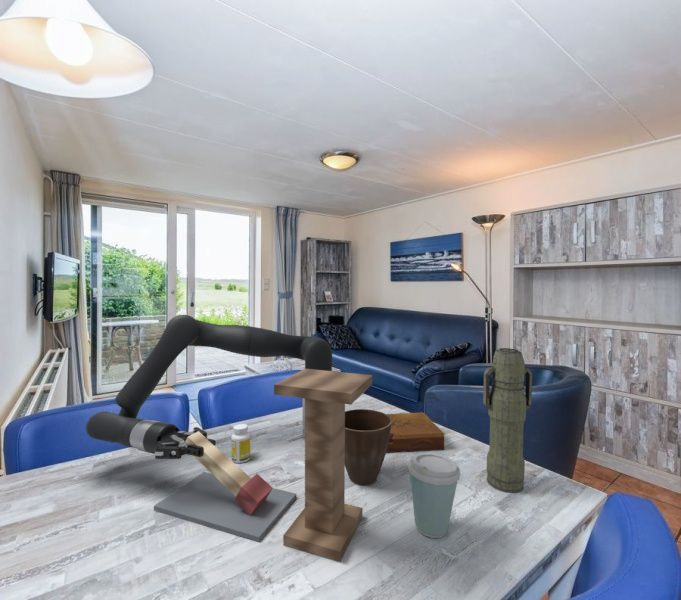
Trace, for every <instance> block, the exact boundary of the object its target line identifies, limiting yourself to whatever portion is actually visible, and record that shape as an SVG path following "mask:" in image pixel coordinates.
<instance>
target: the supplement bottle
mask: <svg viewBox="0 0 681 600" xmlns="http://www.w3.org/2000/svg"><path fill="white" fill-rule="evenodd" d="M248 427H249V426H248V424H246V423H238V424H235V425H234V426H233V433H232V434H231V437H230V443H231V444H230V446H231V447H230V448H231V449H230V450H231V452H230V453H231V461H232V462H233V463H235V464H243V463H246V462H248V461H249V460H250V459H251V433H250V432H249V431H248V430H249V428H248Z"/></svg>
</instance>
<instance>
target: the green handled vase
mask: <svg viewBox="0 0 681 600" xmlns="http://www.w3.org/2000/svg"><path fill="white" fill-rule="evenodd" d="M493 354H494V355H493V356H492V359H491V367H487V368H486V369H485V371H484V372H483V392H482V394H483V395H482V398H483V399H482V404H483V406H485V407H486V408H487V411H488V417H489V444H488V445H489V446H488V447H489V450H488V452H487V454H486V474H487V475H486V476H487V477H486V481H487V483H488V485H489V486H491V487H492V488H493V489H495V490H498V491H500V492H504V493H509V494H510V493H511V494H517V493H520V492H522V491H523V490H524V480H525V469H526V466H525V465H526V463H525V459H524V453H523V452H524V424H525V422H526V420H527V418H526V417H527V411H528V409H531V408H532V402H533V401H532V399H533V398H532V397H533V373H532V371H531V369H530V368H528V367H525V364H526V363H525V359H524V357H523V352H522V351H519V349H515V348H505V347H503V348H502V347H501V348H498V349H495V352H494V353H493ZM491 379H492V383H491V387H490V382H491V381H490V380H491ZM524 383H525V387H524Z"/></svg>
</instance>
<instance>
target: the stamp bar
mask: <svg viewBox="0 0 681 600" xmlns="http://www.w3.org/2000/svg"><path fill="white" fill-rule="evenodd" d="M207 438H208V437H207ZM207 438H206V437H205V436H203V435H202V434H201V433H200V432H199V431H198V432H196V433H194V434H192V435H190V436H188V437H187V439H186V441H185V443H188V444H189V445H196V446H201V447H203V448H204V455H203V456H202V457H197V456H193V455H191V456H192V457H193V458H194V459H195V460H197V461H198V463H200V464H201V465H202V466H203V467H204V468H205V469H206V470H207V471H208V472H209V473H211V474H213V475H214V476H215V477H216V478H217V479H218V480H219V481H220V482H221V483H222V484H224V485H225V486H226V487H227V488H228V489H229V490H230V491H231V492H232V493H233V494H234V495H235V496H236V497H235V499H234V501H235V502H236V503H237V504H238V505H239V506H241V507H242V508H243V509H244V510H245V511H246V512H247V513H248V514H249V515H250V516H251V515H252V514H253V513H254V512H255V511H256V510H257V509H258V508H259V507H260V506H261V505H262V503H263V502H264V501H265V500H266V499H267V497H268V495H269V494H270V492H271V490H272V489H273V488H274V487H273V486H271V485H270V483H268V482H267V481H266V480H265V479H263V478H262V477H261V476H260V475H259V473H256V474H255V475H254V476H253V477H250V476H249V475H248V474H247V473H246V472H245V471H243V469H241V468H240V467H239V466H238V465H237V463H235V462H233V461H232V459H230V458H229V457H228V456H227V455H226V454H225V453H224V452H223V451H222V450H220V449H219V448H218V447H217V445H216V446H215V445H213V444H212V443H211V442H210V441H208V439H209V438H208V439H207Z"/></svg>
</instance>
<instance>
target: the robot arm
mask: <svg viewBox="0 0 681 600" xmlns="http://www.w3.org/2000/svg"><path fill="white" fill-rule="evenodd" d="M187 347H204V348H205V347H208V348H214V349H219V350H222V351H226V352H229V353H233V354H236V355H237V354H238V355H243V356H248V357H249V356H250V357H258V358H272V357H274V358H275V357H288V358H294V359H298V360H301V361H304V363H305V364H304V369H314V370H324V371H333V351H332V350H333V349H332V347H331V344H330V343H329V342H328V341H326V340H325V339H322V337H321V338H320V337H318V336H305V335H293V334H292V335H291V334H286V333H282V332H280V331H275V330H270V329H266V328H262V327H258V326H257V327H256V326H250V325H240V324H238V325H237V324H216V323H211V322H207V321H202V320H199V319H195V317H192V316H191V315H189V314H179V315H176V316H174V317H172V318H170V320H169V321H168V322H167V324H166V326H165V329H164V330H163V332H162V334H161V337H160V338H159V339H158V342H157V343H156V345H155V346H154V348H153V349H152V351H151V352H150V353H149V355H148V357H147V358H146V359H145V360H144V361H143V362H142V363H141V365H140V366H139V367H138V369H137V370H136V371H135V372H134V373H133V374H132V375H131V376H130V378H129V379H128V380H127V382H126V383H125V384H124V385H123V387H122V388H121V389H120V391H119V392H118V393H117V395H116V397H115V398H114V402H115V404H116V405H117V406H118V407H120V411H119V413H118V414H117V413H114V412H109V411H100V412H97V413H95V414H93V415H92V416H91V417H90V418H89V419H88V421H87V423H86V426H85V429H86V434H87V435H88V436H89V437H90V438H91V439H92V440H97V441H103V442H109V443H113V444H114V443H116V444H119V445H121V446H125V447H128V448H132V449H137V450H138V451H141V452H145V453H148V454H153V455H154V457H155V458H154V459H156V460H179V459H181V458H182V456H184V457H188V456H192V455H193V456H192V457H194V456H197V457H202V456H203V455H204V448H203V447H201V446H196V445H189V444H188V443H185V441H186V439H187V437H188V436H190V435H192V434H194V433H196V432H198V431H199V432H200V433H201V434H202V435H203V436H205V437H206V438H207V439H208V441H210V442H211V443H212V444H213V445H215V446H216V447H217V444H216V440H215V439H212V438H208V432H207V431H206V430H204V429H202V428H200V427H197V426H195V427H193V430H192V431H188V430H180V429H179V428H178V426H177V425H176V424H173V423H170V422H163V421H158V420H152V419H149V420H147V419H142V418H137V416H138V415H139V412H140V409H141V408H142V407H143V405H144V404H145V403H146V401H147V400H148V398H149V397H150V396H151V394H152V393H153V392H154V390H155V388H156V387H157V386H158V384H159V383H160V381H161V379H162V378H163V376H164V374H166V372H167V370H168V369H169V367H170V366H171V365H172V364H173V362H174V361H175V360H176V358H177V357H179V355H180V354H181V353H182V352H183V351H184V350H185V349H187ZM301 430H302V437H303V438H304V439H305V399H304V398H302V429H301Z"/></svg>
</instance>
